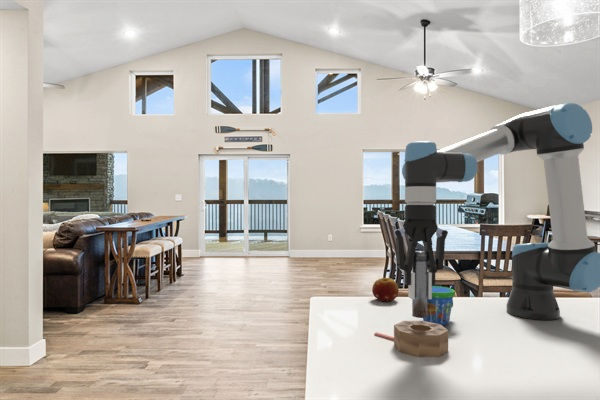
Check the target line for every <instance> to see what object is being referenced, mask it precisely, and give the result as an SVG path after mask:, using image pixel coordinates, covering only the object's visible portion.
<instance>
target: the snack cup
mask: <svg viewBox="0 0 600 400" xmlns="http://www.w3.org/2000/svg"><path fill="white" fill-rule="evenodd" d="M455 296H456V291H455V290H454V289H453V288H450V287H446V286H439V285H432V299H428V298H427V317H426V318H422V321H426V322H431V323H436V324H440V325H442V326H445V325H448V324H449V323H450V319H451V314H452V308H453V307H454V300H453V298H454V297H455Z"/></svg>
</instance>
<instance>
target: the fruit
mask: <svg viewBox="0 0 600 400" xmlns="http://www.w3.org/2000/svg"><path fill="white" fill-rule="evenodd" d="M371 291H372V295H373V296H374V297H375V299H377V300H379V301H381V302H392V301H394V300H395V299H396V298H397V297H398V295H399V292H400V291H399V285H398V284H397V282H396V281H395V280H394V279H392V278H390V277H382V278H381V277H380V278H378V279H377V280H375V281H374V282H373V284H372V290H371Z"/></svg>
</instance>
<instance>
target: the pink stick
mask: <svg viewBox="0 0 600 400" xmlns="http://www.w3.org/2000/svg"><path fill="white" fill-rule="evenodd" d="M374 336H376V337H379V338H384V339H386V340H390V341H393V342H394V336H390V335H387V334H383V333H380V332H375V333H374Z"/></svg>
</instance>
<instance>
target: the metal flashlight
mask: <svg viewBox="0 0 600 400" xmlns="http://www.w3.org/2000/svg"><path fill="white" fill-rule="evenodd" d="M428 271H429V270H428V252H425V250H424V251H423V250H415V256H414V261H413V267H412V272H414V273H415V299H411V300H412V303H411V305H412V309H411V310H412V313H411V316H412V317H413V318H417V319H418V318H419V319H423V318H426V317H427V273H428Z"/></svg>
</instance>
